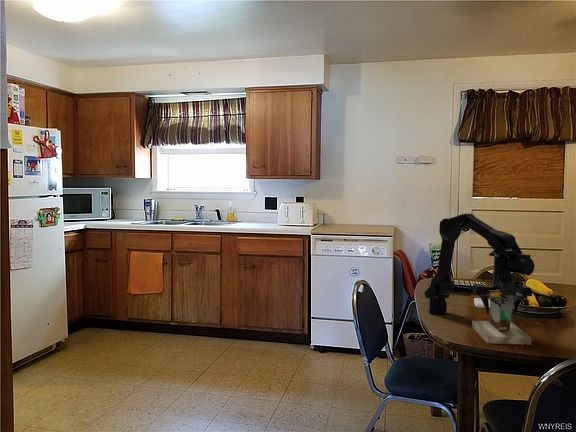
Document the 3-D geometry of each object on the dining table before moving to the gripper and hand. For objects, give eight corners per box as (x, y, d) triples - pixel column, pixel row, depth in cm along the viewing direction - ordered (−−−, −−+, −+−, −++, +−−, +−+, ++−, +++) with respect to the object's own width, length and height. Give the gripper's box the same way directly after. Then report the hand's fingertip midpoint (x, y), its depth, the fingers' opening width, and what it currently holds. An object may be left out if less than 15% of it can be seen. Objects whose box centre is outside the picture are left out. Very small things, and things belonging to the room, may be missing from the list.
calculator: (473, 301, 217) (473, 297, 217) (521, 304, 211) (521, 300, 211) (475, 308, 204) (475, 304, 204) (526, 312, 198) (527, 308, 198)
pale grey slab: (487, 345, 159) (487, 336, 159) (471, 328, 177) (472, 320, 177) (530, 346, 158) (531, 338, 157) (510, 330, 175) (511, 322, 175)
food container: (519, 333, 162) (520, 305, 161) (500, 333, 162) (501, 304, 161) (505, 323, 174) (507, 296, 173) (488, 322, 174) (489, 295, 174)
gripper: (482, 274, 158) (480, 319, 160) (540, 275, 157) (538, 321, 158) (472, 268, 169) (470, 310, 171) (526, 269, 168) (524, 312, 169)
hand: (500, 314), depth 167 cm, fingers open, 9 cm apart
